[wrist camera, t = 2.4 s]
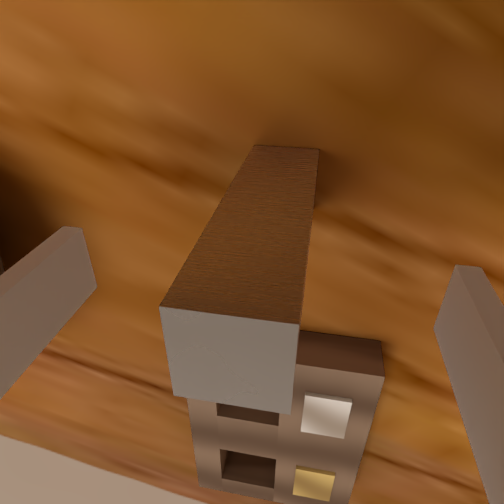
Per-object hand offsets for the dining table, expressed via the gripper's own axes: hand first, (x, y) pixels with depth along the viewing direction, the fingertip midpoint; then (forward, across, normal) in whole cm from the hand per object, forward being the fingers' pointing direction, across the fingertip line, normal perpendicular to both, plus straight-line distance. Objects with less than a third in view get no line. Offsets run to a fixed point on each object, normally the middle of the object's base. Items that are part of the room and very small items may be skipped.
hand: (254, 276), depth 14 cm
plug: (+9, 0, 0) cm, 9 cm away
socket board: (+9, +1, -20) cm, 21 cm away
